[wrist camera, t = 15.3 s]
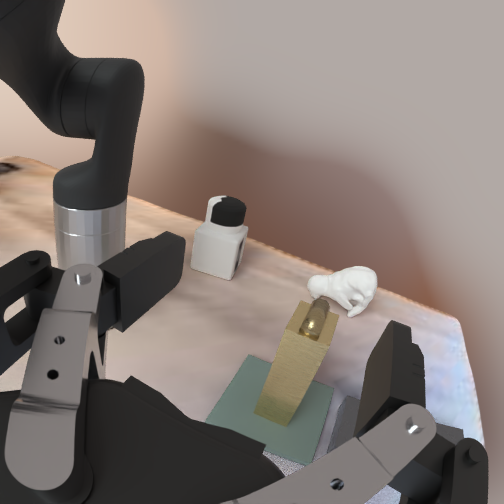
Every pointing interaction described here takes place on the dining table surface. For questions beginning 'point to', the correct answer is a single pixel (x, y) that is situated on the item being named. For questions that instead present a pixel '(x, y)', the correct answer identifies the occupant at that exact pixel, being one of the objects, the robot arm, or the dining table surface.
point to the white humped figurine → (346, 288)
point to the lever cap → (296, 360)
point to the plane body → (348, 421)
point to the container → (220, 238)
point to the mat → (263, 430)
